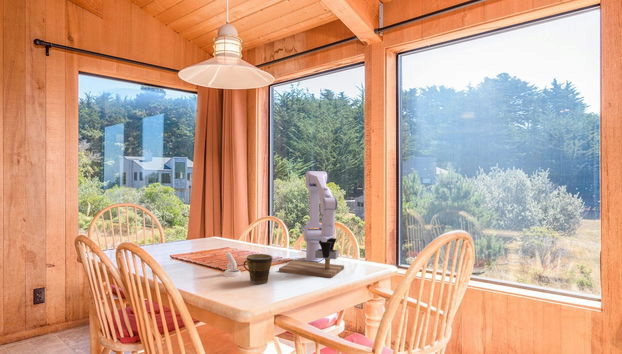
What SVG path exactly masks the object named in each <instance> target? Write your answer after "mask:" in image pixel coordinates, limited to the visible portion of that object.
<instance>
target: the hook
mask: <svg viewBox="0 0 622 354" xmlns="http://www.w3.org/2000/svg"><path fill="white" fill-rule="evenodd" d="M225 257H226V258H227V260H228V263H227V265H226V267H227V269H226V270H224V272H223V276H224V277H228V278H236V277H240V276H242V275H243V274H242V271H241V270H240V269H238V264H237V262H236V260H235V258H234V256H233V254H232V253H231V252H229V251H227V252H225Z"/></svg>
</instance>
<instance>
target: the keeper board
mask: <svg viewBox="0 0 622 354" xmlns="http://www.w3.org/2000/svg"><path fill="white" fill-rule="evenodd" d="M330 260H331V259H324V262H313V261H304V260H292V261H291V262H289V263H286V264H285V265H282V266H280V267H278V272H279V273H285V274H286V273H288V274H295V275H296V274H297V275H302V276H303V275H305V276H313V277H319V276H320V277H321V278H328V279H329V278H330V279H333V277H335V276H336V275H338V274H339V273H340V272H342V271H343V270H345V265H342V264H335V263H334V264H333V263H330Z"/></svg>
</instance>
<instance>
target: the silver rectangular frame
mask: <svg viewBox="0 0 622 354" xmlns="http://www.w3.org/2000/svg"><path fill="white" fill-rule="evenodd" d="M339 255H340V254H339V249H333V250H330V252H329V257H328V258H323V254H322V249H318V250H316V251H315V258H323V260H325V259H330V260H337V259H338V258H339Z"/></svg>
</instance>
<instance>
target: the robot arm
mask: <svg viewBox="0 0 622 354" xmlns="http://www.w3.org/2000/svg"><path fill="white" fill-rule="evenodd" d="M304 177H305V188H306V189H308V192H309V195H308V197H309V201H308V203H309V221H308V223H306V224H305V225H304V227H303V234H302V236H303V240H304V242H306V252H305V253H306V255H305V256H306V257H305V258H303V260H302V261H307V262H316V263H320V262H321V261H323V260H324V259H323V258H328V257H329V252H330V250H334V246H335V243H336V242H337V238H336V235H335V231H336V230H335V229H336V225H335V224H336V211H337V209H338V200H337V197H336V196H333V194H332V191H331V189H330V188H329V187H327V183H328V172H326V170H325V171H322V170H321V171H319V170H312V171H311V170H307V171H306V172H305V176H304ZM319 201H320V202H319ZM320 214H321V222H320ZM318 249H322V254H323V258H315V251H316V250H318Z"/></svg>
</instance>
